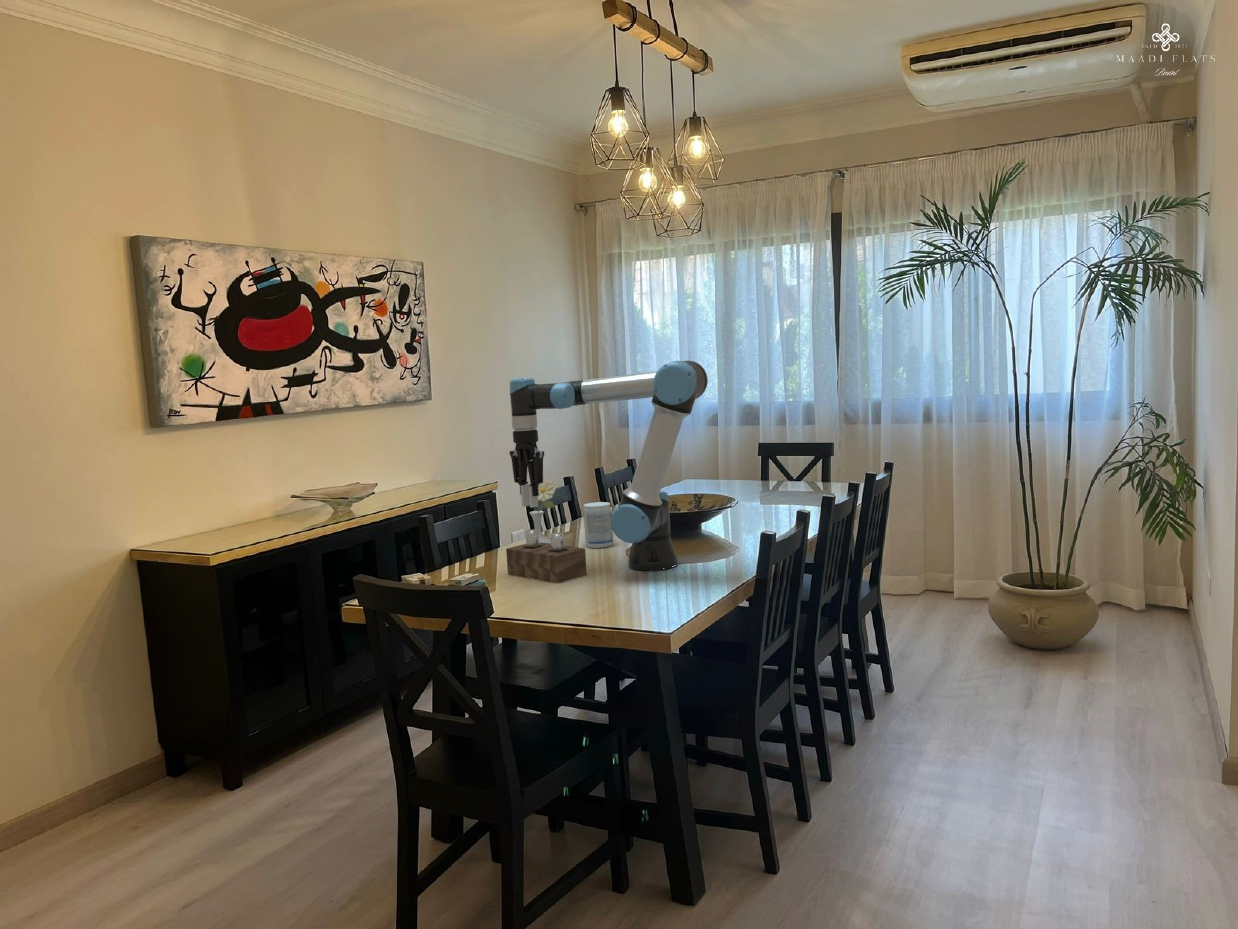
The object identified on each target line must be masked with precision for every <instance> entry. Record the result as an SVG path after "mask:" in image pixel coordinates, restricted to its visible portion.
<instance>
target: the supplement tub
mask: <svg viewBox="0 0 1238 929" xmlns="http://www.w3.org/2000/svg"><path fill="white" fill-rule="evenodd" d="M582 510H583V523H584V526H583V527H584V537H585V538H584V539H585V546H586V547H587V548H588V549H604V548H609V547H612V546H613V544H614V531H613V530H612V527H611V516H612V507H611V503H610V502H606V501H605V502H604V501H598V502H588V503H584V504H583V508H582Z"/></svg>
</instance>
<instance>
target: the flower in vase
mask: <svg viewBox="0 0 1238 929" xmlns="http://www.w3.org/2000/svg"><path fill="white" fill-rule="evenodd" d="M538 492H539V495H538V502H539V501H540V502H542V504H541V505H540V507H539V506H537V507H536V508H537V509H538V510H533V511H530V512H529V514H530V516H531V517H532V520H533V524H534V529H536V530H538V532H539V542H542V543H550V544H551V541H550V538H549V537H548V536H546V535H545V534H544V533H543V531H542V518H543V515H544V513H545V511H543V510H541V509H542V507H543V506H544V508H546V509H552V508H555V507H556V505H555V504H554V503H553V502H552V501H550V500H551V499H552V498H553V497H554V494H555V492H556V487H555V485H554V484H553V482H552V481H551V480H548V479H544V478H543V483H541V484H539V485H538ZM524 544H526V542H524Z"/></svg>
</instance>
